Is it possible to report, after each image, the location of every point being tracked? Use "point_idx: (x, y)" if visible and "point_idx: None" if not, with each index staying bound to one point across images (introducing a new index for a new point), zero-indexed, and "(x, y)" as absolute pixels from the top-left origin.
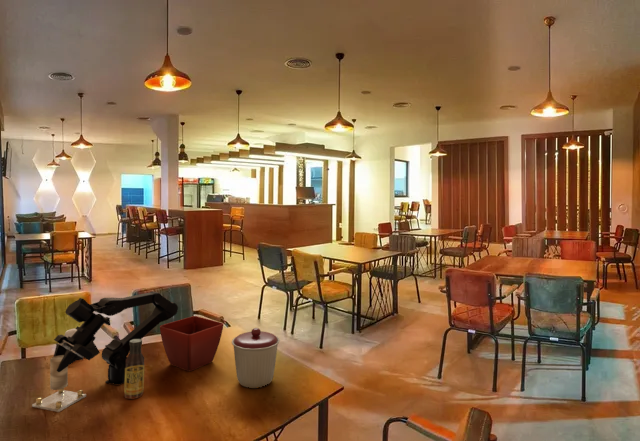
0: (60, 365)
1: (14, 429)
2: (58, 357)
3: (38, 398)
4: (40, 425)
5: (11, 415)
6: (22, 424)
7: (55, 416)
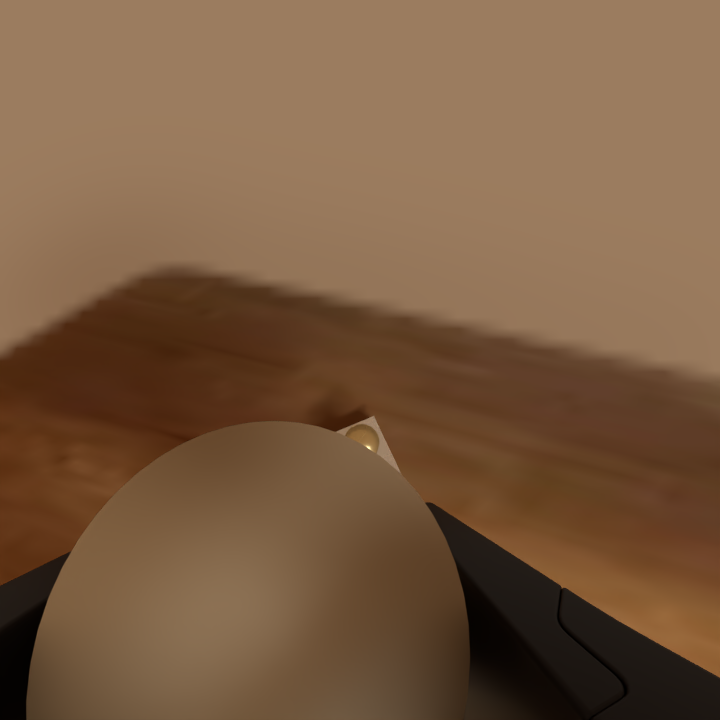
0: (52, 561)
1: (181, 295)
2: (290, 627)
3: (364, 439)
4: (100, 384)
5: (349, 322)
6: (198, 330)
7: (122, 476)
